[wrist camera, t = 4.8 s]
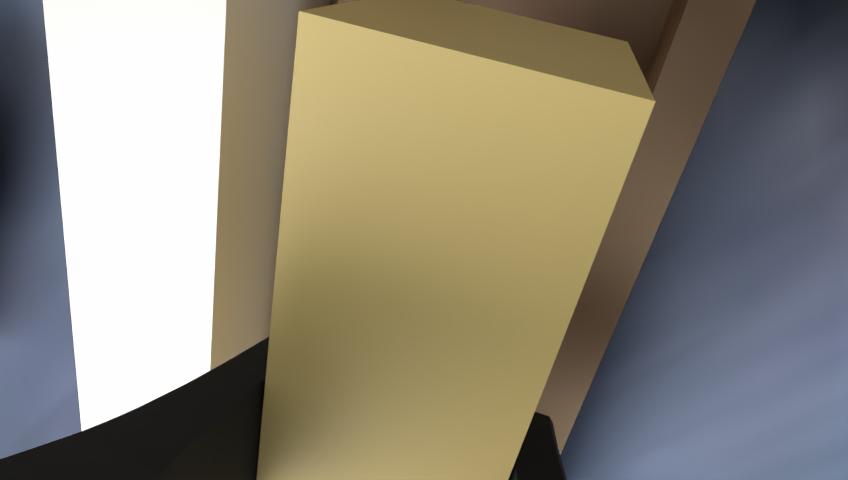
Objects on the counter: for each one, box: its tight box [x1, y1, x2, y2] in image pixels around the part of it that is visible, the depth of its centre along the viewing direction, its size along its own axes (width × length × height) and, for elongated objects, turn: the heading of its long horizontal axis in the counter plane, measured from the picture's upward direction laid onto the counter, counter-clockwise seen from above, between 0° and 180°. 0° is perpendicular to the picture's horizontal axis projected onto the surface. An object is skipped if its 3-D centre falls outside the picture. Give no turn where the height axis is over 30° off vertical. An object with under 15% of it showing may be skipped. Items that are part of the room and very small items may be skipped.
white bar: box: [43, 0, 330, 431], centre depth 16 cm, size 14×4×5 cm, turn 168°
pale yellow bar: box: [256, 0, 656, 480], centre depth 12 cm, size 14×4×5 cm, turn 168°
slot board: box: [329, 0, 757, 455], centre depth 18 cm, size 22×16×4 cm
